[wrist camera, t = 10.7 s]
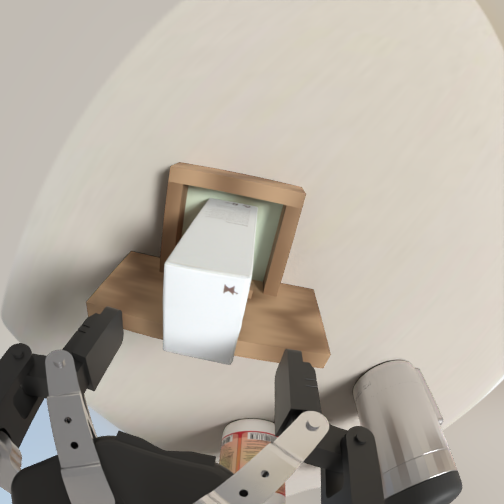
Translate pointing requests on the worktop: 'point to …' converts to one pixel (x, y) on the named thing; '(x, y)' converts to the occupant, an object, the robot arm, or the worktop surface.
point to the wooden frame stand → (263, 275)
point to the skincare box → (209, 282)
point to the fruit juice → (248, 447)
